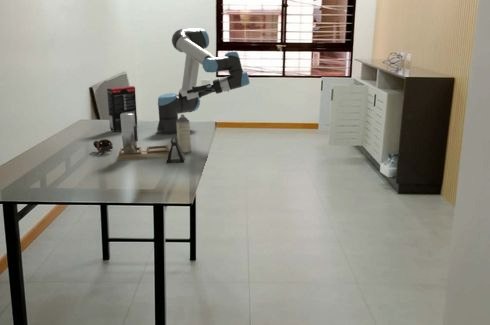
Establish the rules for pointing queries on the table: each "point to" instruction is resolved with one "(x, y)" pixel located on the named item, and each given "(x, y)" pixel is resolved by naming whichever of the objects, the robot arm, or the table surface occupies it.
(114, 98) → the graphics card box
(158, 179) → the table surface
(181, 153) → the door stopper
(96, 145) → the brown curved piece
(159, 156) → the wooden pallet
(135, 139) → the metal canister
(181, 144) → the aerosol can
